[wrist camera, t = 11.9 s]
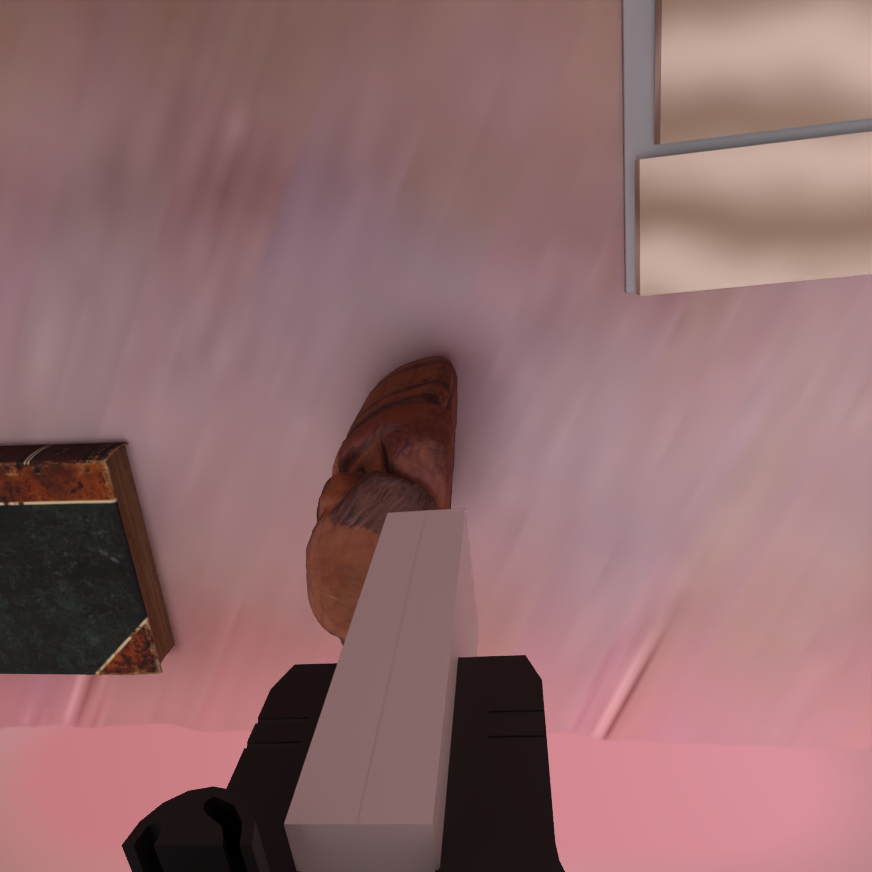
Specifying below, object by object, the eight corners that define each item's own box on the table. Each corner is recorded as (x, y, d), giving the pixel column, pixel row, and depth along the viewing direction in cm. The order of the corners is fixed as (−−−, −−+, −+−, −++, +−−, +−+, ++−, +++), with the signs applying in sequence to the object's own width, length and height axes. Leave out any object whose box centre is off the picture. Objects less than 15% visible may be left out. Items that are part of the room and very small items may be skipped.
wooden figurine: (367, 342, 41) (276, 458, 24) (471, 353, 40) (450, 479, 24) (359, 511, 45) (276, 708, 28) (452, 522, 45) (424, 729, 28)
